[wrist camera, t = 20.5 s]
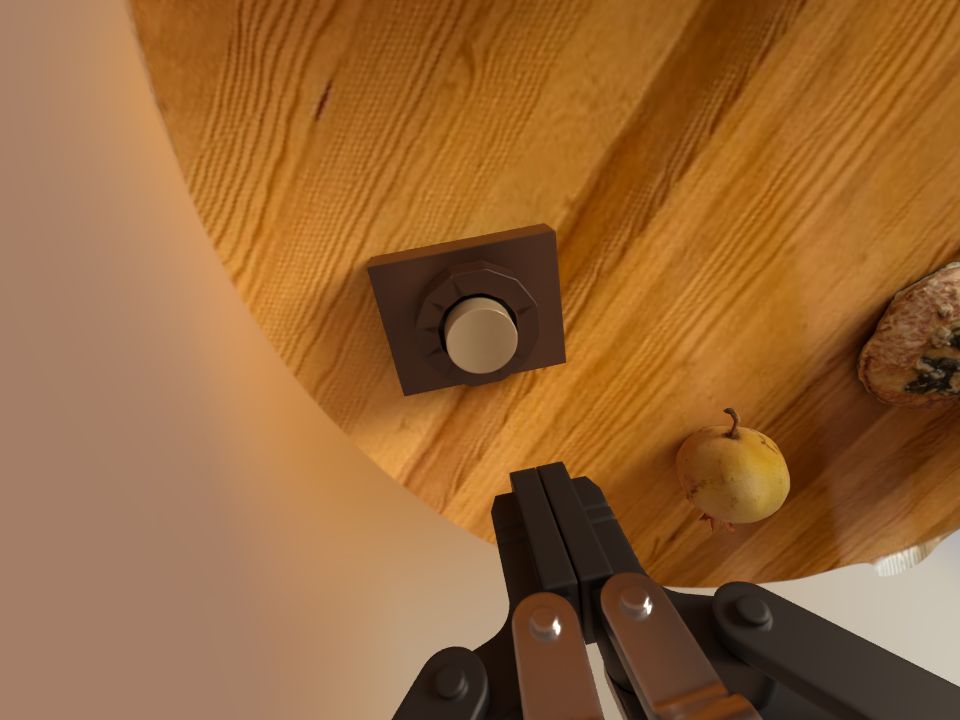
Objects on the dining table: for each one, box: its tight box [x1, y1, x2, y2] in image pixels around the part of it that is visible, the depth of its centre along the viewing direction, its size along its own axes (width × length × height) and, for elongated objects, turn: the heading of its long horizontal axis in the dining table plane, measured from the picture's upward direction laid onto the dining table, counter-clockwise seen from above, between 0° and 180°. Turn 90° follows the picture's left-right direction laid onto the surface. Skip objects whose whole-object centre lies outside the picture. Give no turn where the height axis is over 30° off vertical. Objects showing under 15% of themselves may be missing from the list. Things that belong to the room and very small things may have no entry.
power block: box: [367, 224, 566, 396], centre depth 25 cm, size 10×8×4 cm
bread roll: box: [856, 262, 960, 411], centre depth 31 cm, size 11×11×5 cm
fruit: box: [676, 408, 790, 534], centre depth 32 cm, size 7×7×10 cm
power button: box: [444, 297, 518, 374], centre depth 23 cm, size 4×4×2 cm
